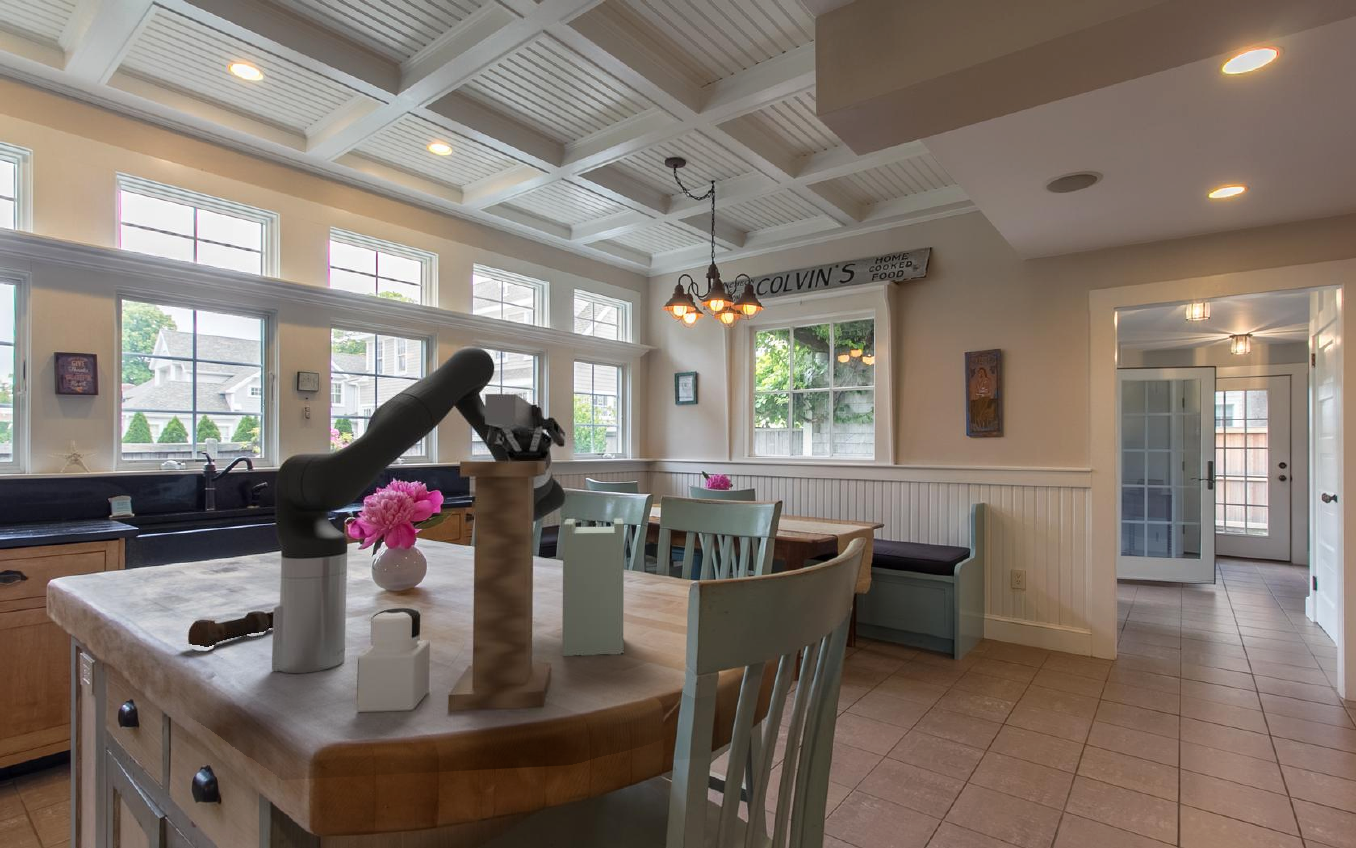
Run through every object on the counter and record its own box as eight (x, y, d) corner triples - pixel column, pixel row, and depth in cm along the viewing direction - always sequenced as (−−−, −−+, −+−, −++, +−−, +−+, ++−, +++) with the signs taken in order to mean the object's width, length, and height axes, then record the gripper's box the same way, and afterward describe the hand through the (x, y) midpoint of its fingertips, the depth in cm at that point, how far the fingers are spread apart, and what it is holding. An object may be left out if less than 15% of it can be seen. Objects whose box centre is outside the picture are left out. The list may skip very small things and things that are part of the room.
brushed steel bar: (484, 423, 87) (485, 394, 88) (512, 430, 111) (512, 407, 111) (515, 423, 88) (515, 394, 88) (535, 430, 112) (536, 407, 112)
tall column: (448, 711, 84) (452, 461, 86) (467, 679, 96) (471, 461, 97) (543, 706, 85) (545, 461, 87) (550, 676, 97) (552, 461, 99)
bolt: (279, 639, 124) (200, 660, 110) (262, 624, 126) (182, 643, 112) (292, 613, 124) (214, 631, 110) (275, 599, 125) (196, 614, 111)
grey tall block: (562, 656, 107) (563, 524, 108) (566, 639, 117) (566, 518, 118) (623, 654, 108) (623, 523, 109) (622, 637, 118) (622, 518, 119)
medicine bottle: (376, 693, 90) (378, 605, 91) (429, 691, 91) (431, 604, 91) (355, 713, 83) (358, 618, 84) (413, 711, 84) (415, 616, 84)
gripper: (493, 443, 122) (477, 389, 107) (570, 443, 123) (565, 390, 109) (489, 478, 118) (472, 427, 103) (568, 478, 119) (563, 428, 105)
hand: (520, 408), depth 106 cm, fingers closed on brushed steel bar, 4 cm apart
